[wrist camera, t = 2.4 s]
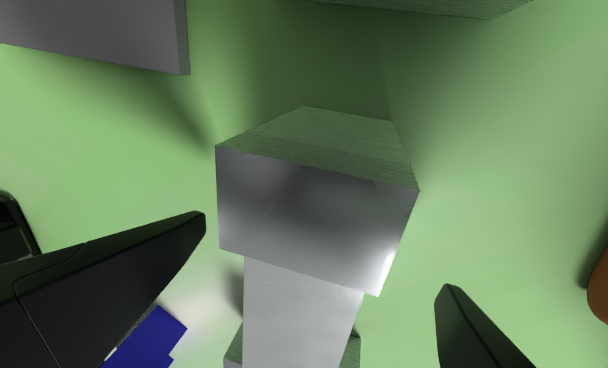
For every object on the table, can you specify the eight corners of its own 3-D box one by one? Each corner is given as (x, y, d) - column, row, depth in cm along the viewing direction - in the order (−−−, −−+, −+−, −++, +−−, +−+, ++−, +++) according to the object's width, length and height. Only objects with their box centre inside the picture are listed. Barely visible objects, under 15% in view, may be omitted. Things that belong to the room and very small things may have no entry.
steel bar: (282, 279, 14) (226, 407, 9) (304, 105, 10) (214, 145, 4) (340, 297, 14) (319, 448, 8) (392, 120, 9) (419, 190, 4)
